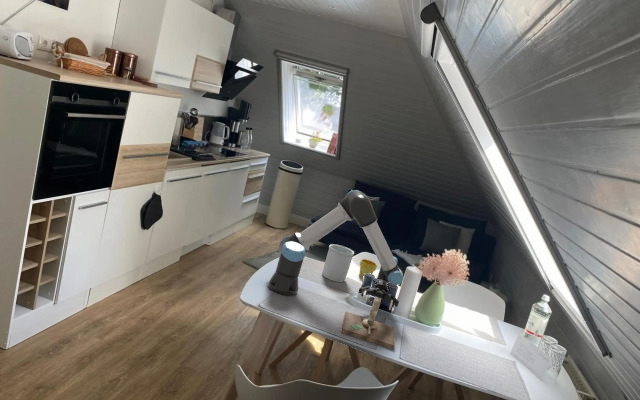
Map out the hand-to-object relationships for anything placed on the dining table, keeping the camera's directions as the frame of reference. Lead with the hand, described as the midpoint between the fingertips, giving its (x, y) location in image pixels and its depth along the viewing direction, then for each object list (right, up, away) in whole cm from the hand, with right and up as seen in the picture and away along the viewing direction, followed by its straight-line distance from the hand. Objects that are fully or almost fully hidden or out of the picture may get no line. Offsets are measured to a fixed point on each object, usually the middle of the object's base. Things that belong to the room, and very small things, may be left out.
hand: (376, 302), depth 239 cm
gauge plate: (-5, -11, -9) cm, 16 cm away
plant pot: (0, +2, +66) cm, 67 cm away
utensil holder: (-20, +4, +50) cm, 54 cm away
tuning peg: (-5, -9, -11) cm, 16 cm away
